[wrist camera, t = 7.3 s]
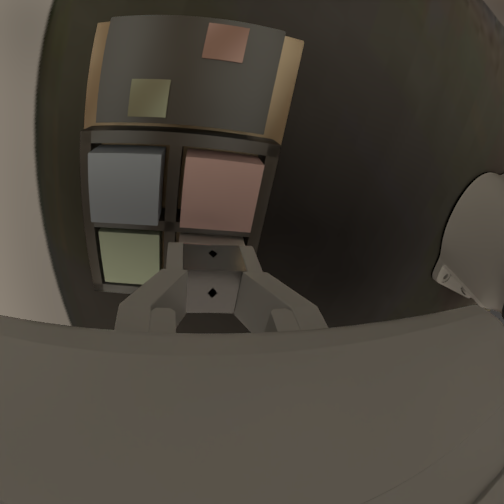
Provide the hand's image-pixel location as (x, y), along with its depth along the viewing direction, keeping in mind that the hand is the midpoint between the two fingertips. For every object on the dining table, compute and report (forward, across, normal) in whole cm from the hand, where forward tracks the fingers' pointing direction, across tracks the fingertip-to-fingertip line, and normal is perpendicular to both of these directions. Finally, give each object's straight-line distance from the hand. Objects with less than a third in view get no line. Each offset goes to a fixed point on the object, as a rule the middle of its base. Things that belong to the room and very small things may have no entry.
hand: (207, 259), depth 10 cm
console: (+10, +2, 0) cm, 10 cm away
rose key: (+8, -1, 0) cm, 8 cm away
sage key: (+9, +4, +5) cm, 12 cm away
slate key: (+8, +4, 0) cm, 9 cm away
